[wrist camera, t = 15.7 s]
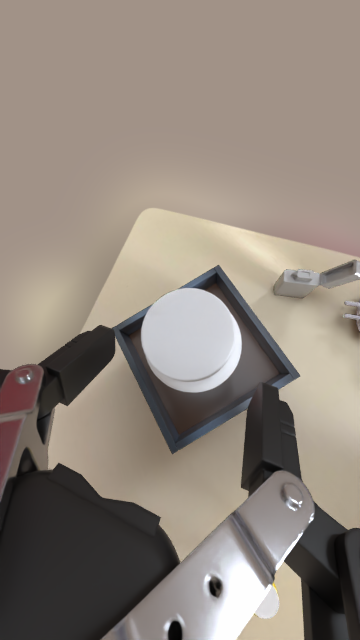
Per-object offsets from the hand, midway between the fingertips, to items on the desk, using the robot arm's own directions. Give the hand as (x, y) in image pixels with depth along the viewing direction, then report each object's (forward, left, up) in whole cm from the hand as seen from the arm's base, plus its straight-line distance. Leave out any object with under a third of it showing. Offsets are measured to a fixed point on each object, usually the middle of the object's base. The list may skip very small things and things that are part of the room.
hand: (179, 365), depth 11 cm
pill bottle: (+1, +1, -10) cm, 10 cm away
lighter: (+18, +2, -19) cm, 27 cm away
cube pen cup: (+1, +1, -19) cm, 19 cm away
